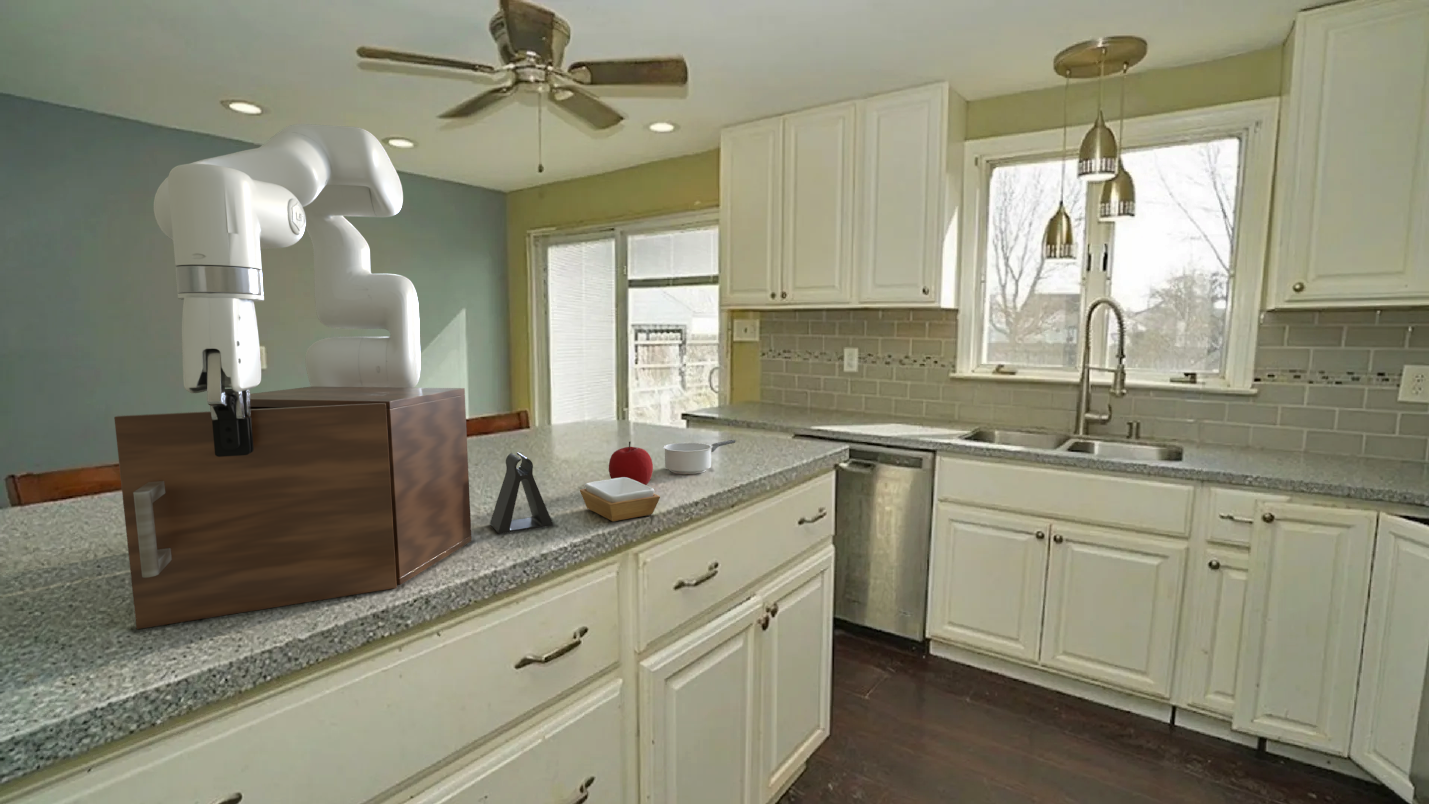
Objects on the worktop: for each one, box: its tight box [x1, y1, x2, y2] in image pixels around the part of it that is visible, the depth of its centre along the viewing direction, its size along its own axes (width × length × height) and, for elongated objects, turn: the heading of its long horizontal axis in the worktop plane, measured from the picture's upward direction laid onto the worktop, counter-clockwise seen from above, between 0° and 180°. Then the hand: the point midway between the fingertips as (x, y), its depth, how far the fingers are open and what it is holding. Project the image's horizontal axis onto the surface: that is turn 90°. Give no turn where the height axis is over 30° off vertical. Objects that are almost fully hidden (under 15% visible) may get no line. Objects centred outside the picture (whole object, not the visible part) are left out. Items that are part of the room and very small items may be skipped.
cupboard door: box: [114, 403, 398, 630], centre depth 76 cm, size 6×26×24 cm, turn 116°
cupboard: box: [209, 386, 472, 586], centre depth 96 cm, size 18×26×24 cm
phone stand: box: [489, 452, 554, 535], centre depth 112 cm, size 9×6×12 cm, turn 120°
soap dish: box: [579, 477, 661, 523], centre depth 120 cm, size 12×10×5 cm
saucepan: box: [662, 439, 736, 475], centre depth 158 cm, size 12×20×6 cm, turn 130°
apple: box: [608, 441, 654, 486], centre depth 138 cm, size 9×9×10 cm
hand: (234, 454), depth 74 cm, fingers closed
